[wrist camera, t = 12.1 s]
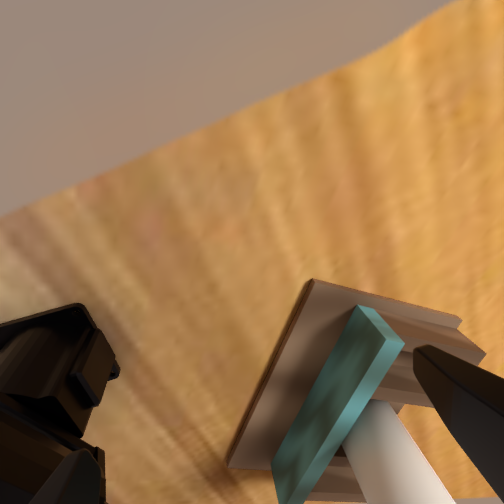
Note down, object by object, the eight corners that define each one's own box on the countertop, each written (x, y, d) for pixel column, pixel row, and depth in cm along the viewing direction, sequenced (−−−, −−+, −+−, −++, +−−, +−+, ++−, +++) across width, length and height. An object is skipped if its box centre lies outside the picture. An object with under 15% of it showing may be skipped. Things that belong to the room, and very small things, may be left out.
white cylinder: (329, 426, 29) (421, 644, 17) (322, 388, 26) (422, 607, 15) (380, 410, 29) (506, 613, 17) (377, 371, 27) (520, 573, 15)
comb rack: (352, 469, 33) (374, 520, 29) (226, 461, 29) (231, 519, 25) (457, 315, 26) (505, 353, 22) (312, 278, 23) (338, 315, 18)
